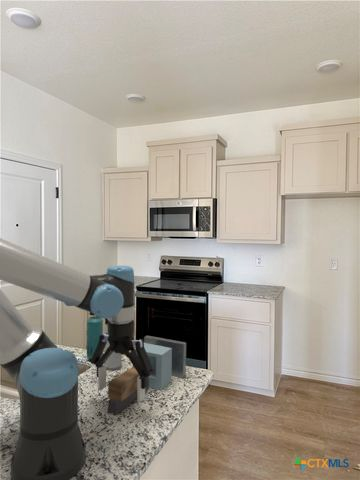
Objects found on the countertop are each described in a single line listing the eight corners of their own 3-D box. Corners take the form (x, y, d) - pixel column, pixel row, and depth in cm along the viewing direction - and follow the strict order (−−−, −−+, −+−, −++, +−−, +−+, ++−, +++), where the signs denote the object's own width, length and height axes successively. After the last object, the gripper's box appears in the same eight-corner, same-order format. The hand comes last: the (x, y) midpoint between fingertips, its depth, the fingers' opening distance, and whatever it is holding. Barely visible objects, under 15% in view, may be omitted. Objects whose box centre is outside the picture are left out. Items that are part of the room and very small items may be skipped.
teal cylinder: (105, 356, 134) (105, 307, 133) (99, 363, 127) (100, 311, 126) (89, 355, 134) (90, 306, 134) (83, 362, 128) (83, 310, 127)
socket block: (161, 390, 106) (161, 355, 106) (132, 382, 111) (132, 349, 111) (171, 381, 112) (171, 348, 112) (143, 374, 117) (144, 342, 117)
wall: (183, 378, 115) (183, 344, 114) (143, 369, 122) (144, 337, 122) (185, 376, 117) (186, 342, 116) (146, 367, 124) (147, 335, 123)
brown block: (121, 401, 92) (121, 385, 92) (108, 397, 94) (108, 382, 94) (147, 381, 105) (147, 367, 105) (135, 378, 107) (135, 364, 107)
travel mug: (100, 367, 123) (100, 313, 123) (115, 362, 128) (116, 310, 127) (109, 372, 119) (109, 317, 118) (124, 367, 123) (125, 314, 122)
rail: (116, 415, 92) (116, 402, 92) (108, 412, 93) (108, 400, 93) (148, 389, 107) (148, 378, 107) (141, 387, 108) (141, 376, 108)
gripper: (165, 322, 93) (165, 397, 93) (95, 312, 104) (95, 379, 104) (151, 330, 86) (151, 410, 87) (78, 318, 97) (78, 389, 98)
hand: (121, 393), depth 96 cm, fingers open, 13 cm apart
